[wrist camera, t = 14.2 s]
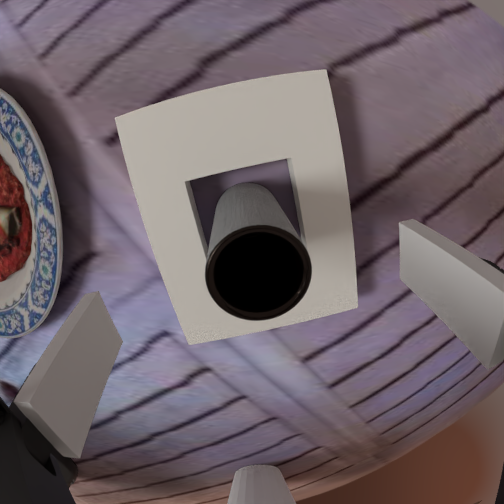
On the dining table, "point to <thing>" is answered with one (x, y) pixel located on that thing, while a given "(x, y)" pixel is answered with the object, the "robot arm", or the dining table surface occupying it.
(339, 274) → the notched board
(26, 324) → the ceramic plate
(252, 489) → the cup
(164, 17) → the dining table surface
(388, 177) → the dining table surface
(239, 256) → the grey cylinder
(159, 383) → the dining table surface
